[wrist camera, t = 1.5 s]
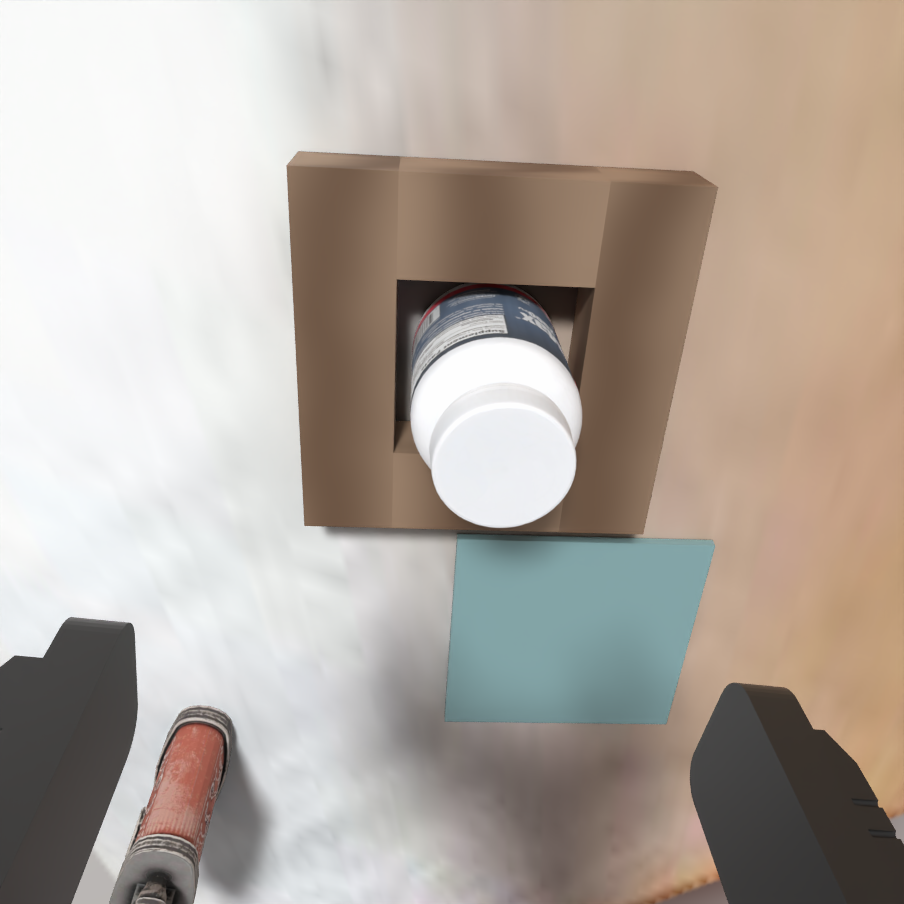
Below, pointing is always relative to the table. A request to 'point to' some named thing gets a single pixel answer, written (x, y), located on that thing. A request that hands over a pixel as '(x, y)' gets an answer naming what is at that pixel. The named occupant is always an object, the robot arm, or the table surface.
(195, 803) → the lighter
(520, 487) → the pill bottle
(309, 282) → the socket holder
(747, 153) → the table surface
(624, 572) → the teal pad
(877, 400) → the table surface
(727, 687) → the robot arm
